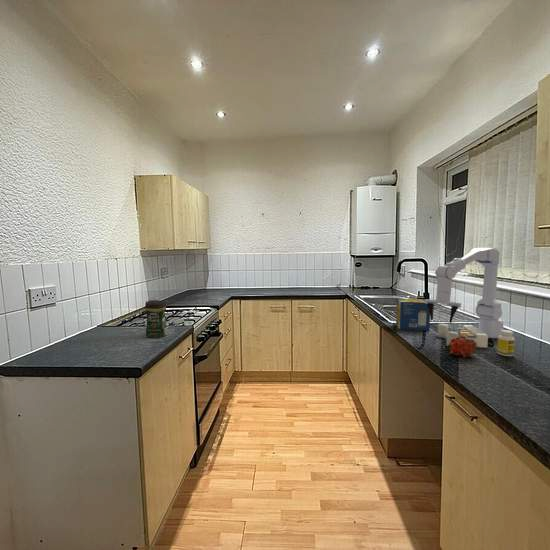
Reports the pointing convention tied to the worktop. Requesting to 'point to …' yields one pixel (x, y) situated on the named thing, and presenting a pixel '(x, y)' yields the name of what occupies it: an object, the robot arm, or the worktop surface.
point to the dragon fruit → (462, 346)
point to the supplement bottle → (506, 343)
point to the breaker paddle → (464, 333)
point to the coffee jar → (155, 319)
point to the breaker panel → (475, 335)
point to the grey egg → (451, 336)
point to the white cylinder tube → (442, 330)
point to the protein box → (412, 315)
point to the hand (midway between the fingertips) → (441, 321)
